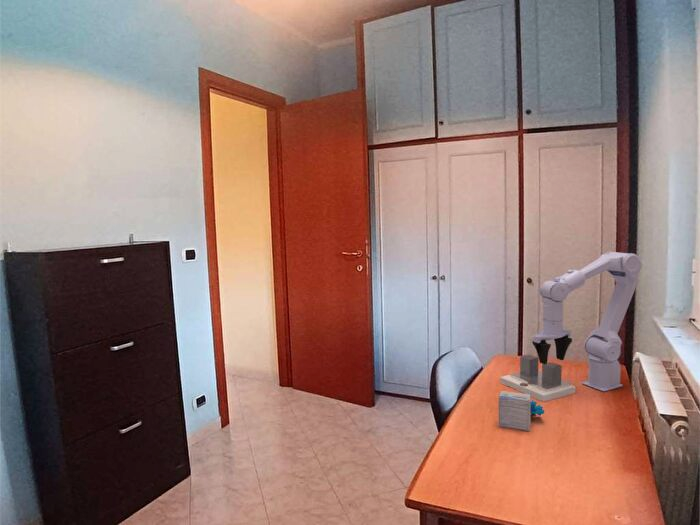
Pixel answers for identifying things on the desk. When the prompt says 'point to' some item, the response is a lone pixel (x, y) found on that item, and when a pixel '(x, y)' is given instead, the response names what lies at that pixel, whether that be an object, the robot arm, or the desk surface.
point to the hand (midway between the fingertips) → (551, 361)
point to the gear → (536, 409)
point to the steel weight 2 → (551, 373)
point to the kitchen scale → (537, 386)
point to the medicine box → (514, 410)
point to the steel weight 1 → (529, 365)
